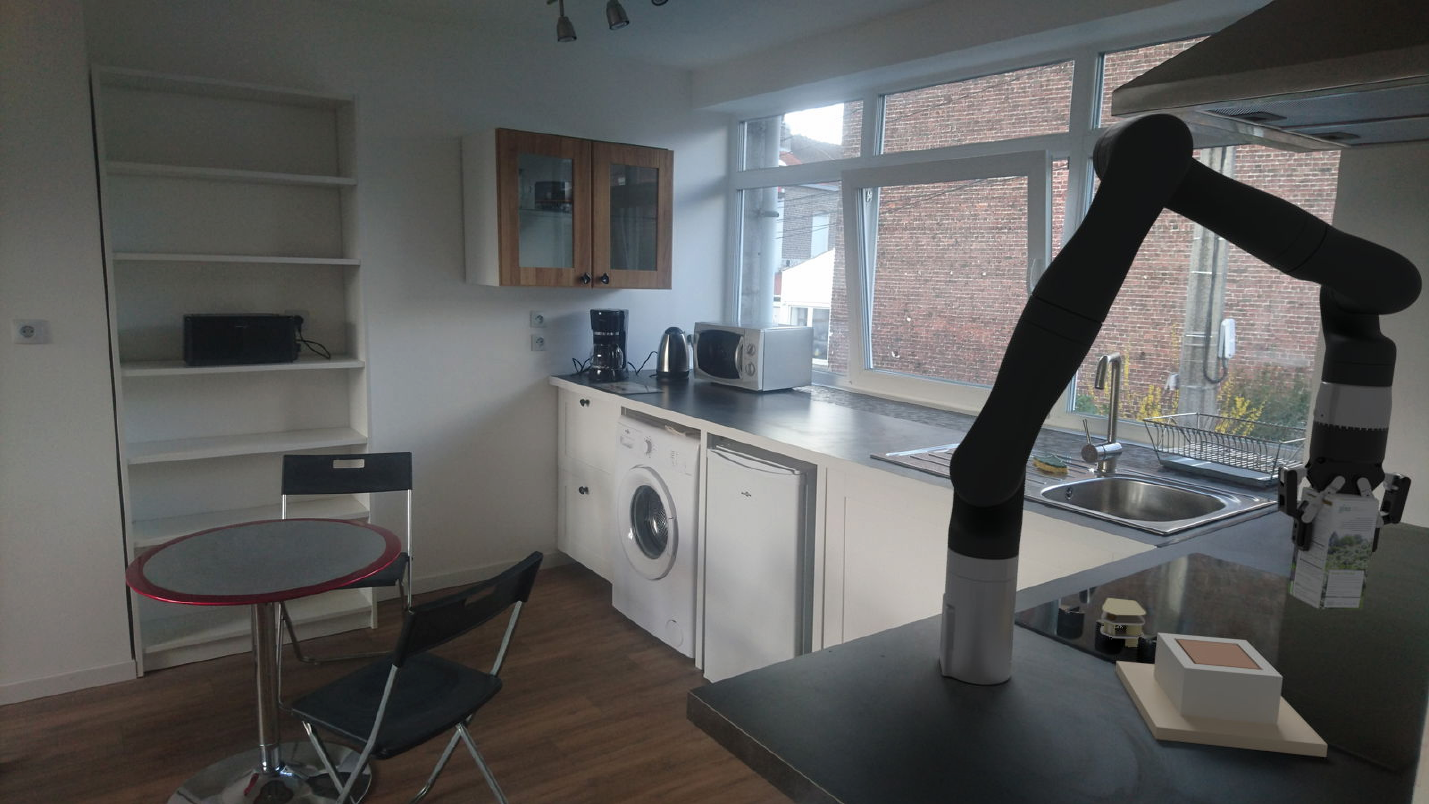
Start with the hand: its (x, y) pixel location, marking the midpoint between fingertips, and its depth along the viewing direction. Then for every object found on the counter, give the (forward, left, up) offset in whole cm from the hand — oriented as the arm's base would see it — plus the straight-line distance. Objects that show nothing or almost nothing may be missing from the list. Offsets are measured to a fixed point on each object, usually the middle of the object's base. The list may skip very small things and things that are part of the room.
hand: (1332, 551), depth 108 cm
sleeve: (-14, -5, -20) cm, 25 cm away
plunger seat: (-14, -5, -14) cm, 20 cm away
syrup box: (0, 0, -7) cm, 7 cm away
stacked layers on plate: (-19, +15, -21) cm, 32 cm away
